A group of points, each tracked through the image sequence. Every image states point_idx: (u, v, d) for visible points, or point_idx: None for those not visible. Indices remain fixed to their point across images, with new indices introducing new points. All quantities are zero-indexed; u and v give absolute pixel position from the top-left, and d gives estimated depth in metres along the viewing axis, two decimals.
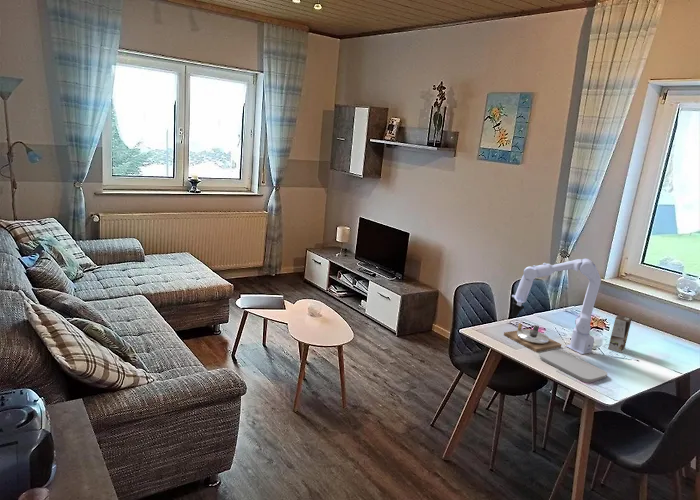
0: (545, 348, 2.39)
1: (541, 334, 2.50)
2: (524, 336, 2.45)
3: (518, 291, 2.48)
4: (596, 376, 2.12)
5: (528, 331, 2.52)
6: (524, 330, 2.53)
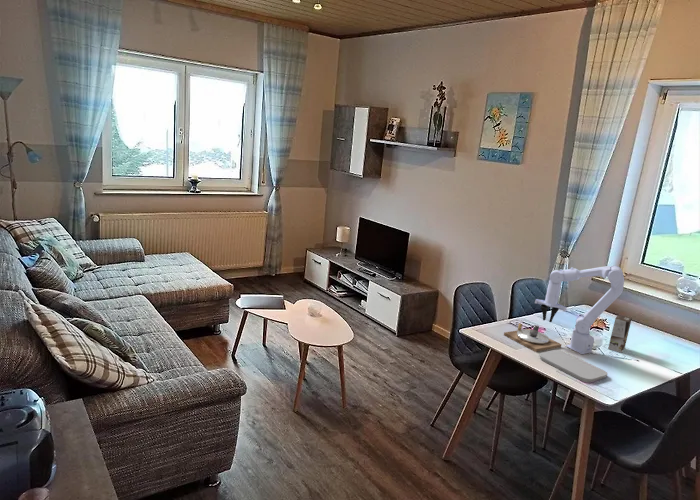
0: (545, 348, 2.39)
1: (541, 334, 2.50)
2: (524, 336, 2.45)
3: (555, 298, 2.43)
4: (596, 376, 2.12)
5: (528, 331, 2.52)
6: (524, 330, 2.53)
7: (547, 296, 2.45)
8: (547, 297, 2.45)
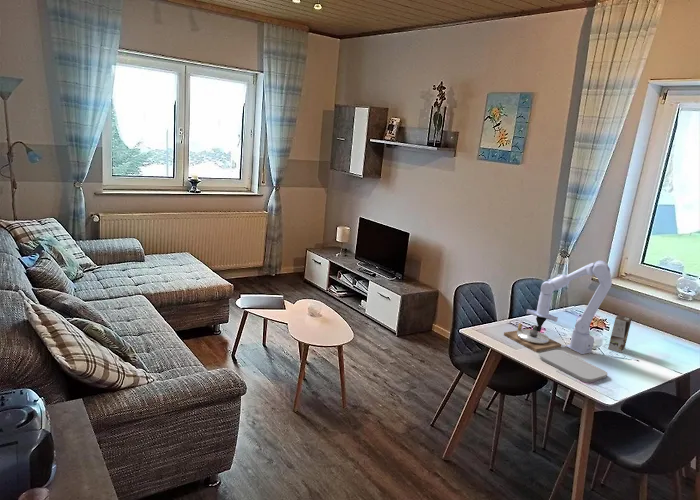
0: (545, 348, 2.39)
1: (541, 334, 2.50)
2: (524, 336, 2.45)
3: (546, 309, 2.46)
4: (596, 376, 2.12)
5: (528, 331, 2.52)
6: (524, 330, 2.53)
7: (538, 307, 2.48)
8: (538, 308, 2.48)
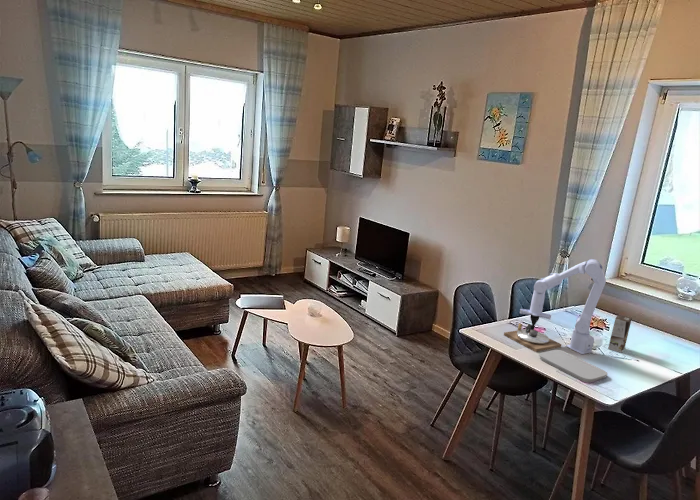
0: (545, 348, 2.39)
1: None
2: (531, 339, 2.43)
3: (540, 307, 2.48)
4: (596, 376, 2.12)
5: (523, 331, 2.51)
6: (520, 331, 2.51)
7: (533, 306, 2.49)
8: (532, 307, 2.49)
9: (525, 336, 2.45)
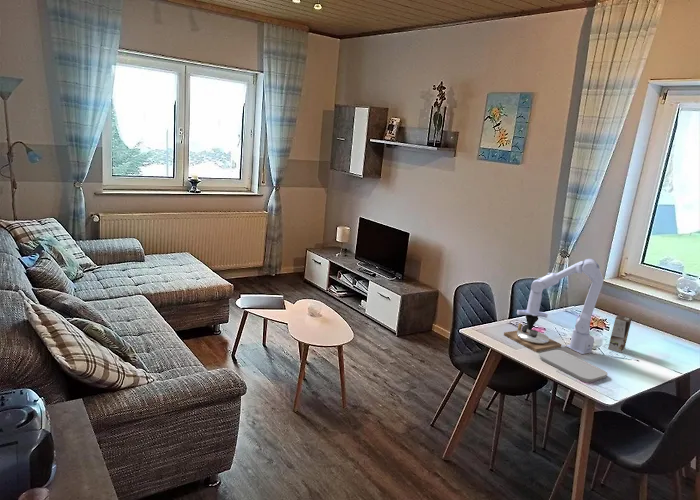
0: (545, 348, 2.39)
1: None
2: (536, 340, 2.42)
3: (539, 307, 2.48)
4: (596, 376, 2.12)
5: (522, 333, 2.49)
6: (520, 333, 2.48)
7: (531, 306, 2.48)
8: (531, 307, 2.48)
9: (529, 338, 2.44)
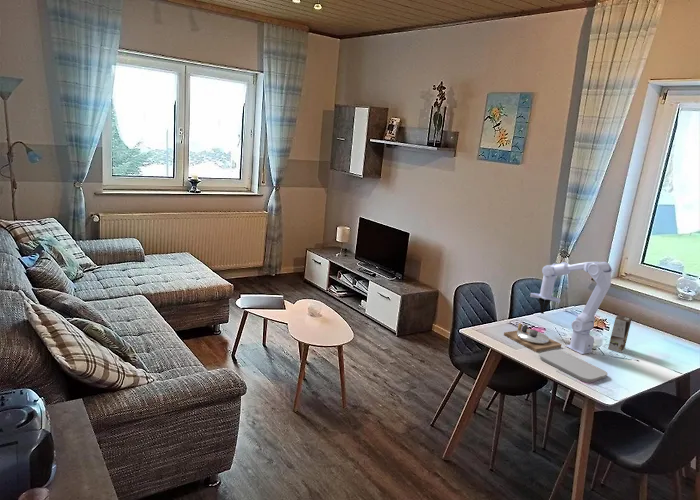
0: (545, 348, 2.39)
1: None
2: (536, 340, 2.42)
3: (550, 291, 2.54)
4: (596, 376, 2.12)
5: (522, 333, 2.49)
6: (520, 333, 2.48)
7: (542, 289, 2.55)
8: (542, 290, 2.56)
9: (529, 338, 2.44)
